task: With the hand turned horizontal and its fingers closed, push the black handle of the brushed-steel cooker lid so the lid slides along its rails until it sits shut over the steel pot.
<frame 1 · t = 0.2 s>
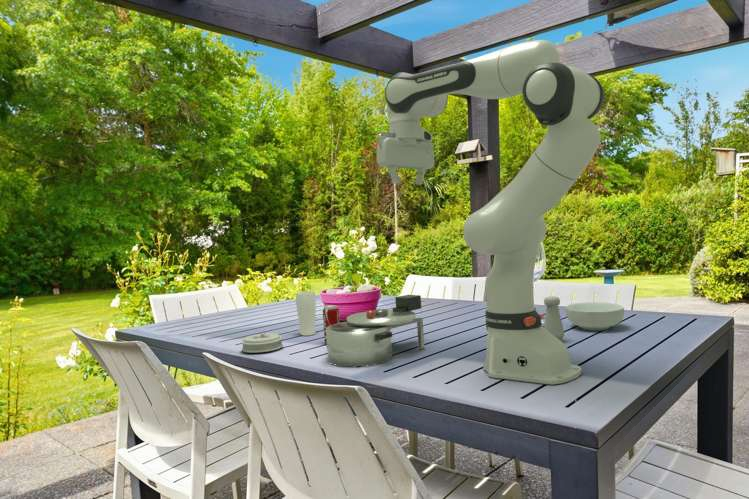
hand: (407, 183, 145), 48 cm above the table, tool pointing down, fingers open, 8 cm apart
cereal bowl: (595, 328, 163), on the table
salt shaker: (554, 342, 148), on the table
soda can: (333, 343, 165), on the table
drinking glass: (308, 335, 182), on the table
cooker pot: (360, 358, 144), on the table
cooker lid: (386, 309, 151), point 12 cm above the table, slide at 9.0 cm
lid: (262, 351, 162), on the table
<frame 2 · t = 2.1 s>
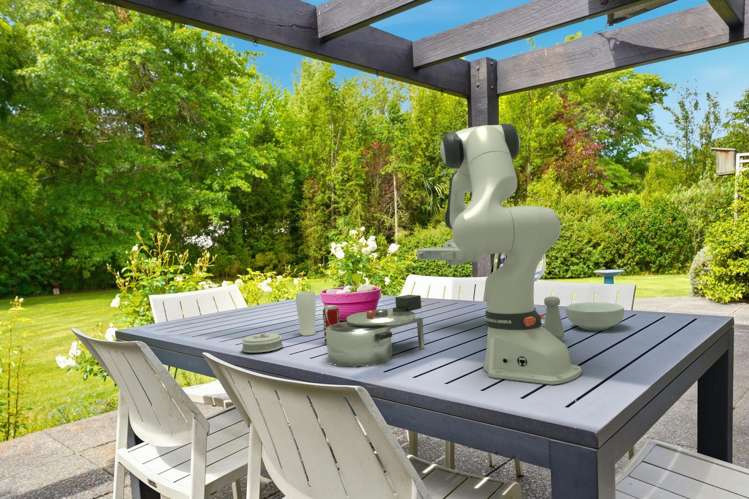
hand: (429, 256, 165), 26 cm above the table, tool horizontal, fingers open, 8 cm apart
nothing on the table moved.
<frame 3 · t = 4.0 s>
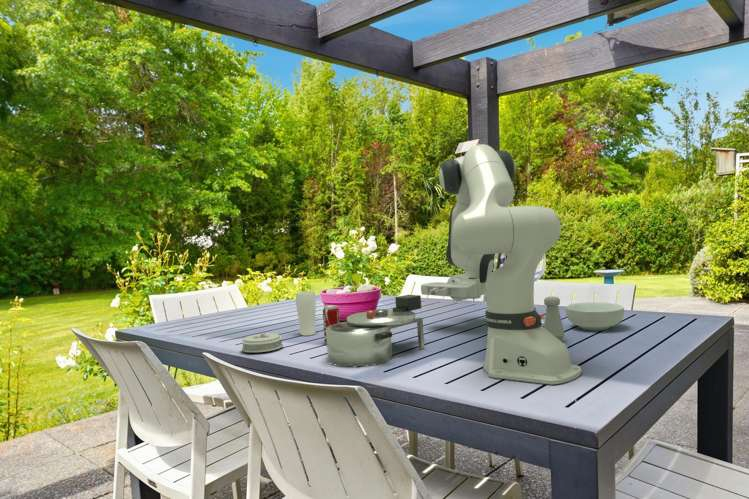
hand: (433, 292, 166), 14 cm above the table, tool horizontal, fingers closed
nothing on the table moved.
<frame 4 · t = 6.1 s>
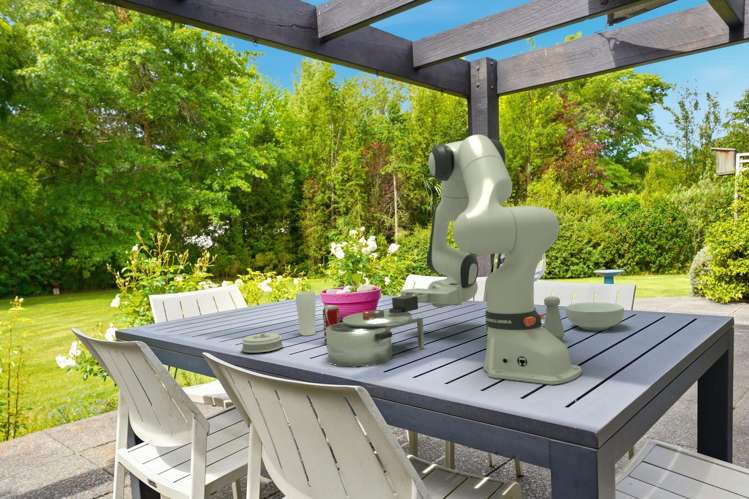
hand: (412, 299, 159), 13 cm above the table, tool horizontal, fingers closed, pressing on cooker lid
cooker lid: (383, 310, 150), point 12 cm above the table, slide at 7.5 cm, touching gripper
everything else where it was.
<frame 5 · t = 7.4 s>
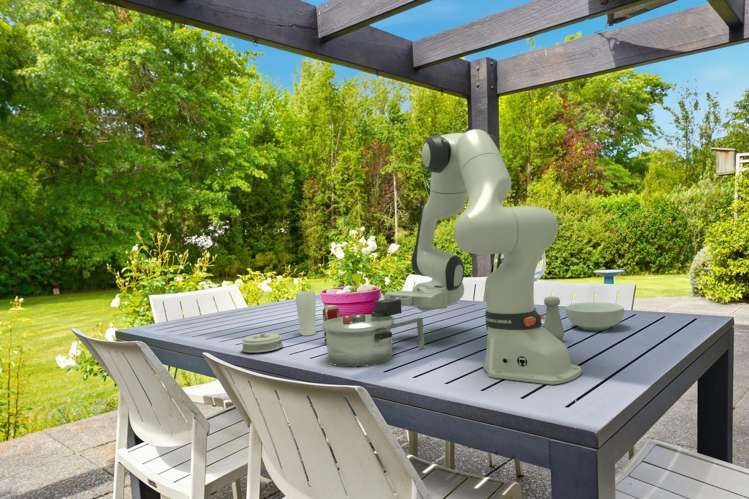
hand: (395, 302, 154), 13 cm above the table, tool horizontal, fingers closed, pressing on cooker lid
cooker lid: (364, 314, 145), point 12 cm above the table, slide at 0.1 cm, touching gripper
everything else where it was.
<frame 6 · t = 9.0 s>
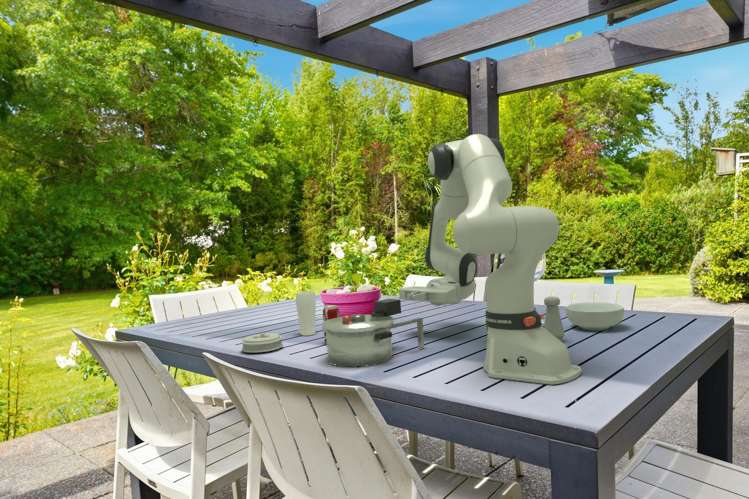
hand: (410, 297, 159), 14 cm above the table, tool horizontal, fingers closed
cooker lid: (364, 314, 145), point 12 cm above the table, slide at 0.0 cm
everything else where it was.
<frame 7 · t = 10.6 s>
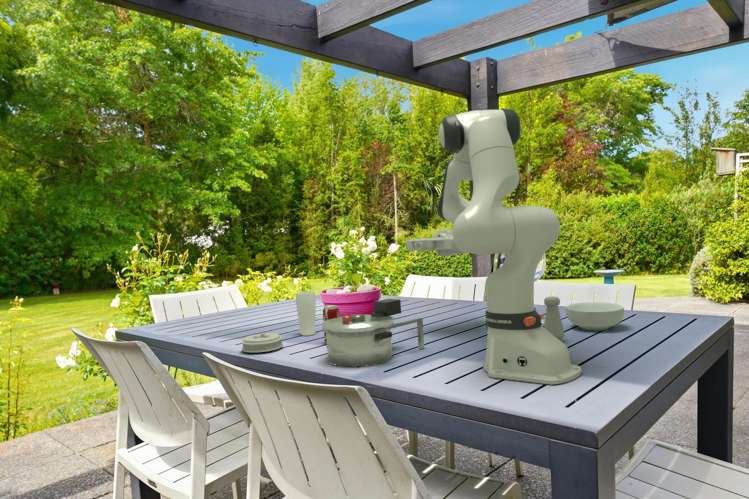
hand: (418, 245, 161), 30 cm above the table, tool horizontal, fingers closed
nothing on the table moved.
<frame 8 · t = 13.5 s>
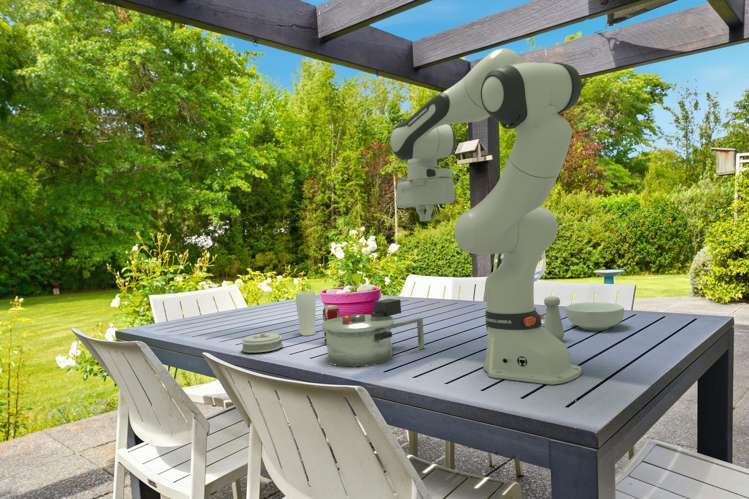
hand: (425, 221, 151), 37 cm above the table, tool pointing down, fingers closed
nothing on the table moved.
at the end: cooker lid slide at 0.0 cm; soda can moved 0.2 cm from its start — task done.
